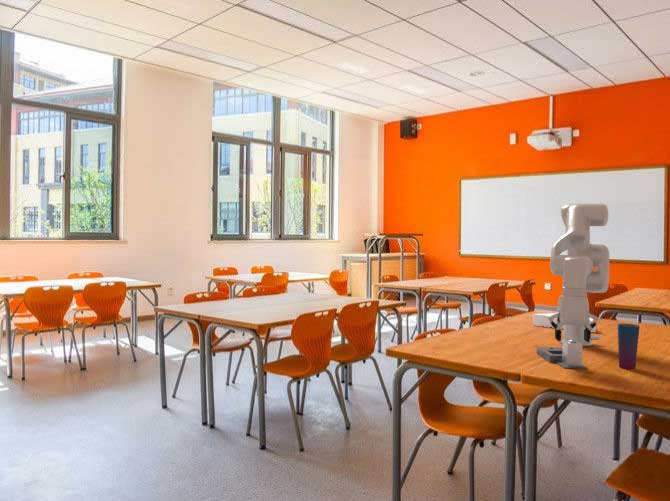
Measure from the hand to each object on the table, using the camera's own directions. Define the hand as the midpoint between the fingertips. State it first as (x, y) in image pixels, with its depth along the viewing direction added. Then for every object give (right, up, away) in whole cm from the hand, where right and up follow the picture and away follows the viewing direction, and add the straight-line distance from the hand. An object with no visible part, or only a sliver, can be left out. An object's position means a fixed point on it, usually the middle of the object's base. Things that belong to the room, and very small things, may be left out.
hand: (572, 340), depth 196 cm
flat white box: (+37, -8, +88) cm, 95 cm away
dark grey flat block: (-1, -8, +12) cm, 15 cm away
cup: (+19, -9, -1) cm, 21 cm away
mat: (0, -9, 0) cm, 9 cm away
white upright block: (0, -8, 0) cm, 8 cm away
